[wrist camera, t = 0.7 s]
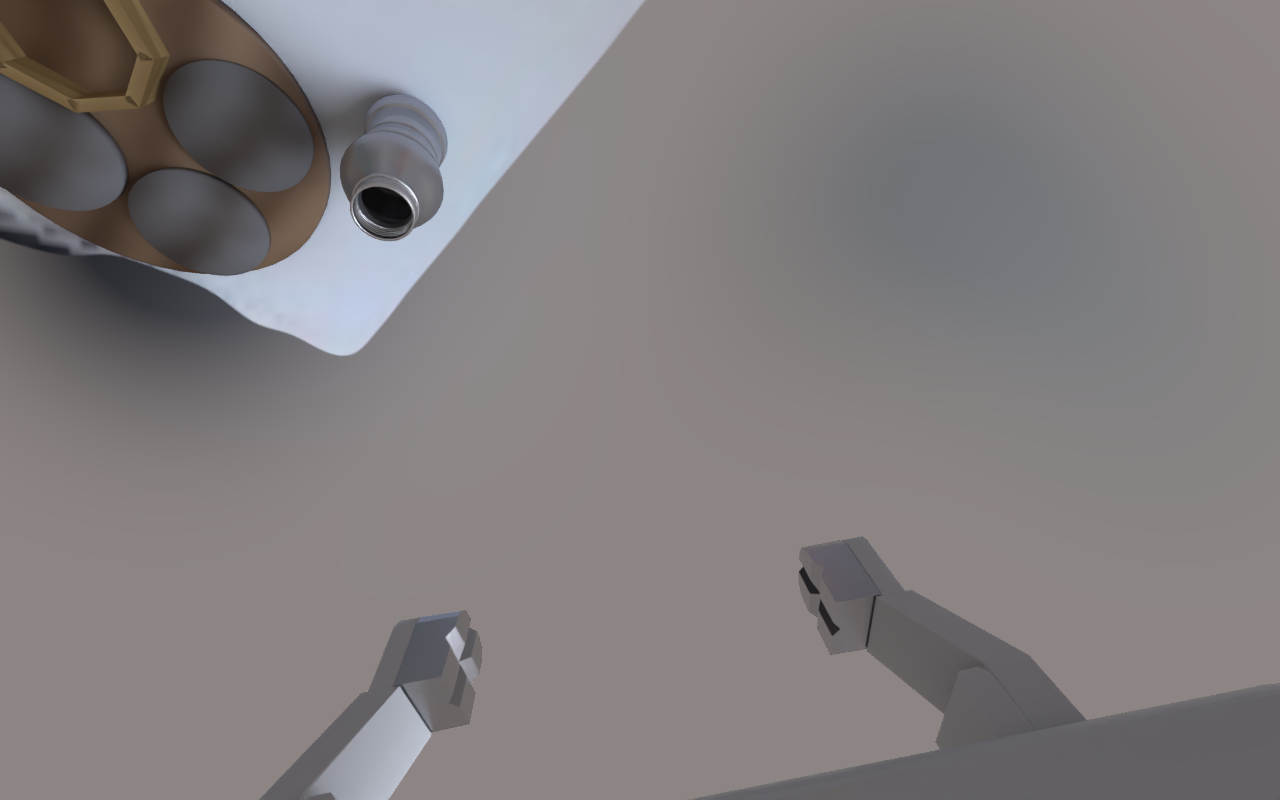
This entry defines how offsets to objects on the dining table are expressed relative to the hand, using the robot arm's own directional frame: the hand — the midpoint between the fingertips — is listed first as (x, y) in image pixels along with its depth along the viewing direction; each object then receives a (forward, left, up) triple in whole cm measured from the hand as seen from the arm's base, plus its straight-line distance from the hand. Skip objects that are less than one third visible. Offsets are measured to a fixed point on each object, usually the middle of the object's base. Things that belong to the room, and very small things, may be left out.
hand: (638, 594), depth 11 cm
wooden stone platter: (-21, -19, -47) cm, 55 cm away
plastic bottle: (-6, -7, -48) cm, 49 cm away
